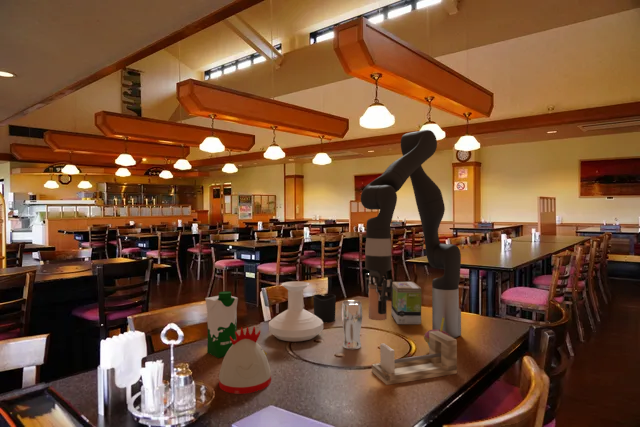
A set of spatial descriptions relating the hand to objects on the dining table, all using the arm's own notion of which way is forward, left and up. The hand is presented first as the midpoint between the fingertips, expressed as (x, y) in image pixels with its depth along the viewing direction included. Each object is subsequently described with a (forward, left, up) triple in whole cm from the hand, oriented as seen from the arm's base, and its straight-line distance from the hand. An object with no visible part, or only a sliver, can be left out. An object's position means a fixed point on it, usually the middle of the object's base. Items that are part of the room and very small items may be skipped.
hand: (377, 311), depth 119 cm
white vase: (+15, -36, -17) cm, 42 cm away
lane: (-8, +7, -16) cm, 20 cm away
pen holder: (-2, -53, -17) cm, 56 cm away
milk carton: (+42, -28, -17) cm, 53 cm away
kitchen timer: (+38, -3, -17) cm, 42 cm away
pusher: (-8, +7, -15) cm, 19 cm away
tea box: (-34, -42, -17) cm, 56 cm away
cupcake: (-24, -5, -17) cm, 29 cm away
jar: (0, 0, -2) cm, 2 cm away
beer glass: (0, -19, -17) cm, 25 cm away
